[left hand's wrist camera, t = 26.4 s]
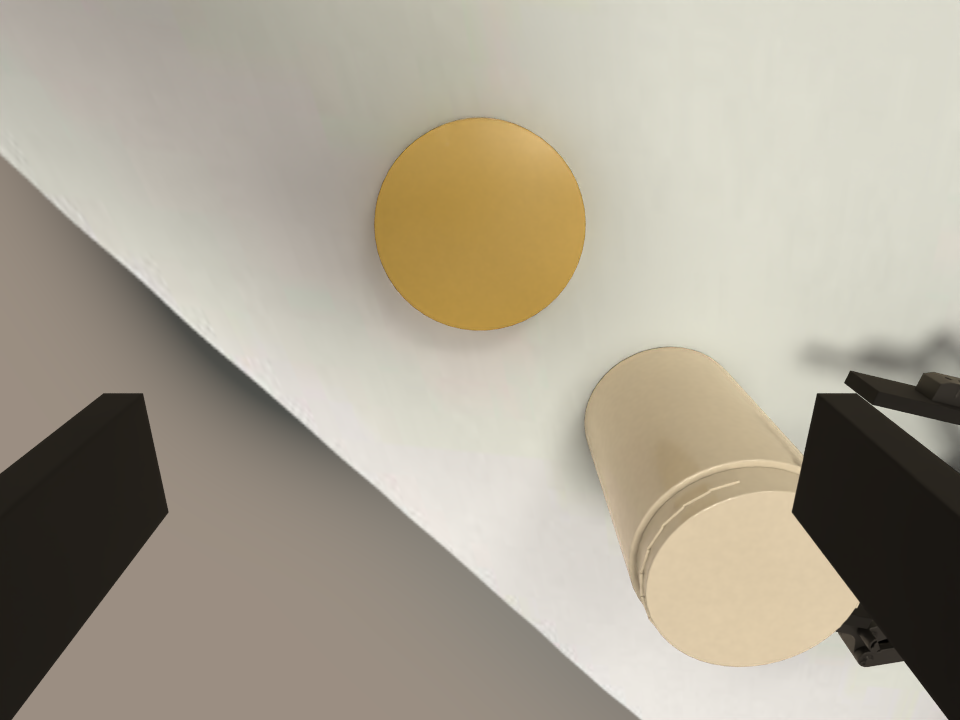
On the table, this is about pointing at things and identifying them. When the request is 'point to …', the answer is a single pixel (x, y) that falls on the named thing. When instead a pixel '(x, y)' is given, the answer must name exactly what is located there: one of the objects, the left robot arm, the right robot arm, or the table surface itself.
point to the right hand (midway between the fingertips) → (805, 493)
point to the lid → (479, 224)
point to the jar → (709, 512)
